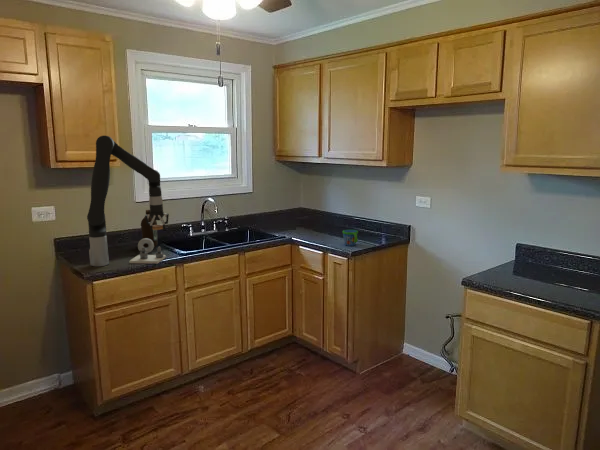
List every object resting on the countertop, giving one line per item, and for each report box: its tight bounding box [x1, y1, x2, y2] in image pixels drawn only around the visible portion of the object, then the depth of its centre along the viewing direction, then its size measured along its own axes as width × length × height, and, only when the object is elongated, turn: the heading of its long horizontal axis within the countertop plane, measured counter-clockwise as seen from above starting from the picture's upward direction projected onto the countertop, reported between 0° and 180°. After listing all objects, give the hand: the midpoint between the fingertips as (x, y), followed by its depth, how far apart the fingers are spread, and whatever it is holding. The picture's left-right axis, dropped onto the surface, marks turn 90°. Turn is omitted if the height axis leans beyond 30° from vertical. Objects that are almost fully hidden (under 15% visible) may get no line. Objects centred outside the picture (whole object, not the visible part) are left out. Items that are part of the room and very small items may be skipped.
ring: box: [152, 224, 163, 231], centre depth 270 cm, size 6×6×2 cm
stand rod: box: [139, 246, 149, 259], centre depth 270 cm, size 4×4×6 cm
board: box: [129, 254, 167, 265], centre depth 272 cm, size 17×14×2 cm
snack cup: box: [342, 229, 359, 247], centre depth 309 cm, size 16×10×10 cm
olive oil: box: [140, 209, 158, 248], centre depth 307 cm, size 11×11×25 cm
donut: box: [137, 238, 155, 254], centre depth 288 cm, size 10×4×10 cm, turn 113°
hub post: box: [155, 246, 164, 258], centre depth 273 cm, size 4×4×6 cm
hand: (158, 230), depth 271 cm, fingers closed on ring, 6 cm apart
